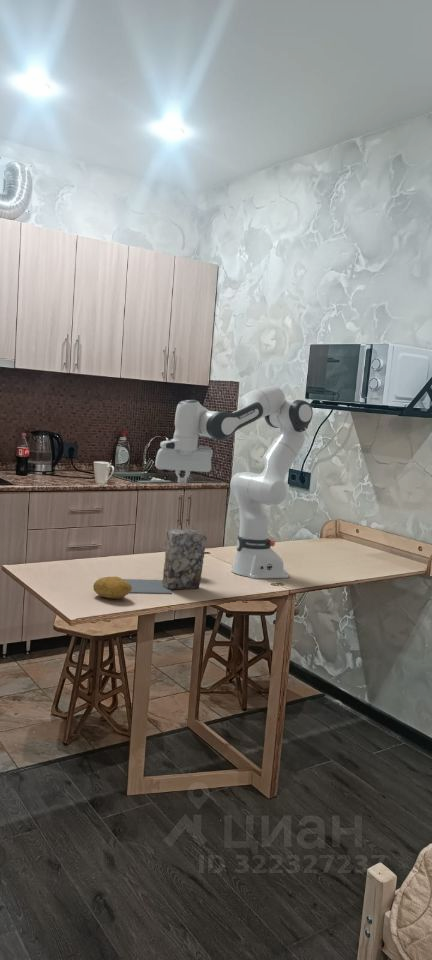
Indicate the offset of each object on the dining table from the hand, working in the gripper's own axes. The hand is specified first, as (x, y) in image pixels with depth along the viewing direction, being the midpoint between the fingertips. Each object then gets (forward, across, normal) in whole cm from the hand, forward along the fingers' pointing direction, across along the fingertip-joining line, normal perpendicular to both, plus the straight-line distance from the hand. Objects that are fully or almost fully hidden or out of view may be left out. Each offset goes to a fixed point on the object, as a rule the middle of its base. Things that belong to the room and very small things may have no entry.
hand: (181, 482), depth 257 cm
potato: (+35, +25, +28) cm, 52 cm away
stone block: (+35, 0, +14) cm, 38 cm away
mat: (+35, +14, +14) cm, 40 cm away
